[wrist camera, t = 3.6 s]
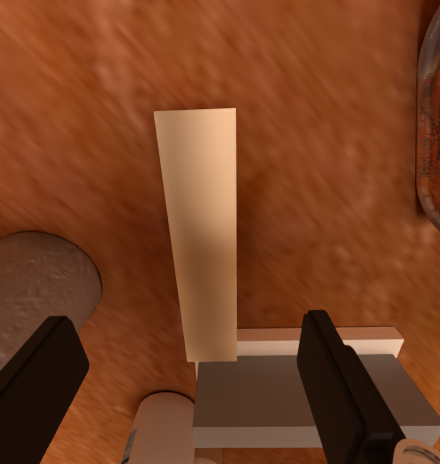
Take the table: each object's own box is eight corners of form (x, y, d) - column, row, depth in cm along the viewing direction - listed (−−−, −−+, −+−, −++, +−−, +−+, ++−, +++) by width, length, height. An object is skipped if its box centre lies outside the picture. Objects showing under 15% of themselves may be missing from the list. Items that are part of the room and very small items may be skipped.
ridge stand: (393, 326, 23) (464, 409, 17) (375, 372, 26) (430, 459, 19) (194, 329, 24) (183, 411, 17) (198, 374, 27) (190, 460, 20)
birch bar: (231, 113, 16) (235, 108, 11) (234, 315, 23) (236, 361, 19) (173, 115, 16) (153, 111, 11) (194, 315, 23) (187, 361, 19)
